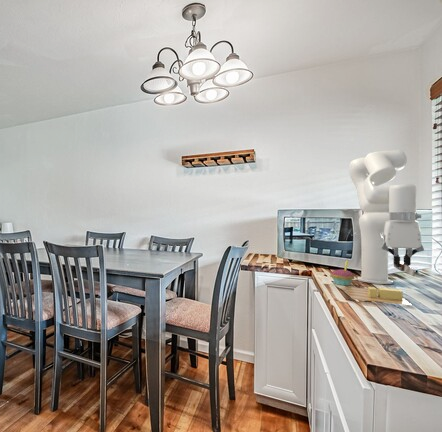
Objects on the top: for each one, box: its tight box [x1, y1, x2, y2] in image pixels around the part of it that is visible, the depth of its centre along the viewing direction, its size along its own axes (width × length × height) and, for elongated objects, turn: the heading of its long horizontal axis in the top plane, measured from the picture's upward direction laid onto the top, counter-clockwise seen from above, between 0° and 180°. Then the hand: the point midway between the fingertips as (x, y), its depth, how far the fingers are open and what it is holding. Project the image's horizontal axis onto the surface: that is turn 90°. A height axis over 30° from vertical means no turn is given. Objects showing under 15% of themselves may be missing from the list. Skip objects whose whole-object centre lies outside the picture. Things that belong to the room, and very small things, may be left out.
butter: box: [377, 287, 404, 300], centre depth 113 cm, size 4×6×3 cm, turn 60°
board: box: [343, 286, 412, 306], centre depth 118 cm, size 22×16×1 cm
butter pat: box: [367, 286, 378, 298], centre depth 116 cm, size 4×2×3 cm, turn 150°
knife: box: [393, 260, 415, 277], centre depth 116 cm, size 20×2×3 cm, turn 151°
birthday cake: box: [329, 258, 355, 286], centre depth 137 cm, size 9×8×12 cm
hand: (401, 266), depth 119 cm, fingers closed on knife, 1 cm apart
